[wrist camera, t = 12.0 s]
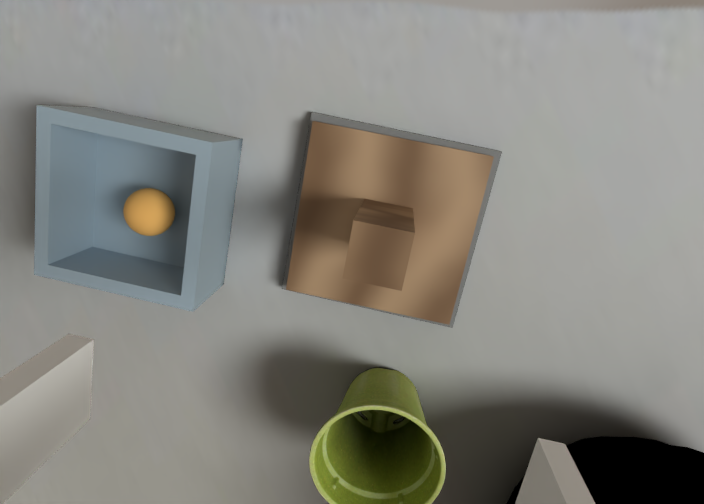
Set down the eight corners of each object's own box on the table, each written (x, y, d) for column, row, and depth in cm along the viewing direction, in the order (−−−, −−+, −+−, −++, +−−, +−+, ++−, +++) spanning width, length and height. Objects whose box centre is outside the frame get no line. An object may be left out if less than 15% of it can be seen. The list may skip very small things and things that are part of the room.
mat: (283, 286, 40) (281, 288, 39) (313, 112, 36) (311, 112, 35) (451, 324, 39) (452, 327, 38) (500, 151, 35) (501, 151, 35)
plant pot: (305, 389, 42) (281, 456, 34) (388, 326, 40) (384, 381, 31) (376, 463, 43) (369, 544, 35) (460, 406, 41) (474, 479, 33)
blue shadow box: (86, 252, 41) (34, 274, 35) (93, 107, 38) (36, 104, 32) (223, 284, 40) (193, 311, 34) (242, 139, 37) (212, 142, 31)
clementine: (137, 224, 39) (111, 235, 35) (141, 180, 38) (114, 186, 34) (180, 234, 39) (158, 245, 35) (185, 190, 38) (163, 197, 34)
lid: (288, 285, 39) (255, 332, 30) (315, 120, 35) (285, 121, 27) (448, 319, 38) (460, 377, 30) (491, 155, 35) (520, 167, 26)
